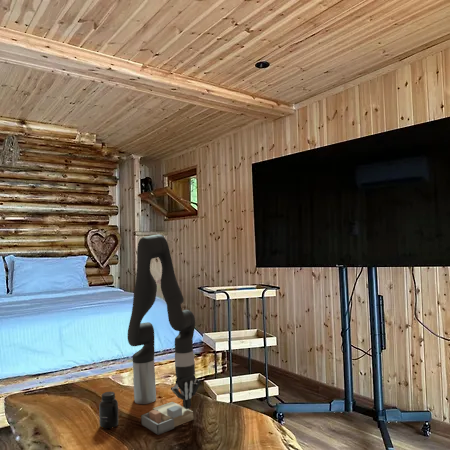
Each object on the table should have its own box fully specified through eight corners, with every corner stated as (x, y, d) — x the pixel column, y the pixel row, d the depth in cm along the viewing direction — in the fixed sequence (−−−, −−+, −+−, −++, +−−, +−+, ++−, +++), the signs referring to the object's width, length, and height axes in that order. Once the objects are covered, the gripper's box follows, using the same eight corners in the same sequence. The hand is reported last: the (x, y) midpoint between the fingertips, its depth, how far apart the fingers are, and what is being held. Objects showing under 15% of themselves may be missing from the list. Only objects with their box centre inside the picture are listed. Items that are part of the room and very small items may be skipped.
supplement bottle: (99, 431, 153) (98, 398, 153) (100, 423, 160) (98, 392, 160) (118, 427, 155) (117, 395, 155) (118, 420, 161) (117, 389, 162)
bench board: (153, 416, 164) (152, 408, 164) (172, 408, 169) (172, 401, 170) (173, 427, 152) (172, 419, 153) (193, 419, 158) (193, 411, 158)
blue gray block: (167, 415, 156) (166, 408, 156) (176, 412, 159) (175, 405, 159) (173, 418, 153) (172, 411, 153) (182, 414, 156) (181, 408, 156)
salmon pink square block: (155, 420, 158) (149, 422, 156) (154, 409, 158) (149, 411, 157) (161, 423, 155) (155, 425, 154) (160, 412, 156) (155, 414, 154)
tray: (141, 424, 156) (141, 415, 157) (157, 418, 161) (157, 409, 161) (157, 434, 147) (157, 424, 147) (174, 428, 152) (173, 418, 152)
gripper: (192, 357, 168) (195, 400, 167) (165, 365, 159) (167, 411, 158) (204, 360, 162) (206, 405, 161) (175, 369, 153) (178, 416, 153)
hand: (187, 408), depth 160 cm, fingers closed
